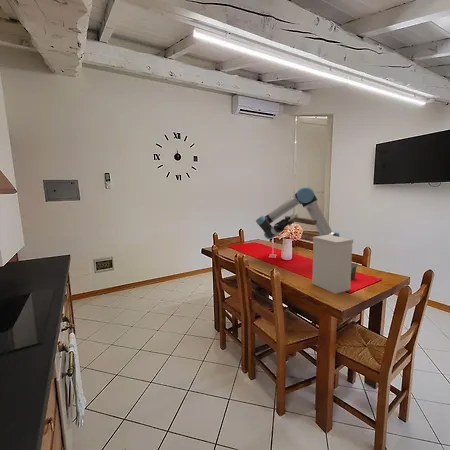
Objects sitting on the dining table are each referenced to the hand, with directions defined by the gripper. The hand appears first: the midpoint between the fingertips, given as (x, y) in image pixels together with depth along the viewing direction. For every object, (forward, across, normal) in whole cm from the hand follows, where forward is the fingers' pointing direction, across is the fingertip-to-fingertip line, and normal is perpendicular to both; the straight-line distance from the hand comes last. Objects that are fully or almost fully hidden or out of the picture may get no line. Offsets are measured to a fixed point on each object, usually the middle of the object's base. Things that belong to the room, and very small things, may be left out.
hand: (295, 215), depth 184 cm
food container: (+1, -21, -48) cm, 52 cm away
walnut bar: (+2, 0, -6) cm, 6 cm away
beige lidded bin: (+8, 0, -51) cm, 52 cm away
